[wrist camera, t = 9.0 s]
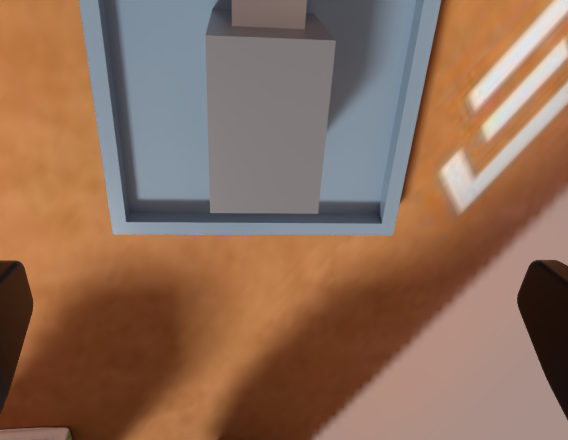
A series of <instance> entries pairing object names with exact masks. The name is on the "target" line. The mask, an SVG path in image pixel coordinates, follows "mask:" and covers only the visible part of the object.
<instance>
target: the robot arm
mask: <svg viewBox="0 0 568 440" xmlns="http://www.w3.org/2000/svg"><path fill="white" fill-rule="evenodd" d="M517 303H518V307H519V310H520V313H521V315H522V318H523V321H524V323H525V326H526V328H527V331H528V333H529V336H530V338H531V341H532V343H533V346H534V349H535V351H536V354H537V356H538V359H539V361H540V363H541V366H542V369H543V371H544V373H545V376H546V378H547V380H548V382H549V385H550V387H551V389H552V391H553V393H554V394H555V397H556V398H557V400H558V402H559V404H560V406H561V408H562V410H563V412H564V414H565V415H566V418H567V420H568V266H567V265H565V264H563V263H561V262H559V261H556V260H536V261H533V262H532V263H531V264H530V265H529V267H528V270H527V272H526V275H525V277H524V280H523V282H522V285H521V288H520V290H519V293H518V297H517ZM32 311H33V298H32V294H31V290H30V286H29V283H28V279H27V275H26V272H25V268H24V266H23V264H22V263H21V262H19V261H0V413H1V411H2V409H3V406H4V404H5V401H6V398H7V396H8V393H9V390H10V387H11V384H12V381H13V378H14V374H15V371H16V367H17V364H18V360H19V357H20V353H21V350H22V346H23V343H24V339H25V336H26V332H27V329H28V325H29V322H30V319H31V315H32Z"/></svg>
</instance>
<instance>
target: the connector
mask: <svg viewBox="0 0 568 440" xmlns="http://www.w3.org/2000/svg"><path fill="white" fill-rule="evenodd" d="M306 6H307V0H232V10H212V12H211V16H210V20H209V23H208V27H207V31H206V35H205V40H206V77H207V114H208V152H209V189H210V213H290V214H318V209H319V199H320V190H321V180H322V170H323V161H324V151H325V142H326V132H327V123H328V113H329V104H330V94H331V84H332V75H333V65H334V56H335V46H336V40H335V39H334V37H333V36H332V35H331V34H330V32H329V31H328V30H327V29H326V28H325V26H324V25H323V24H322V23H321V21H320V20H319V19H318V18H317V16H316V15H315V14H306Z"/></svg>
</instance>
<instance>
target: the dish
mask: <svg viewBox="0 0 568 440" xmlns="http://www.w3.org/2000/svg"><path fill="white" fill-rule="evenodd" d="M79 4H80V11H81V18H82V24H83V31H84V38H85V45H86V52H87V59H88V66H89V73H90V80H91V87H92V94H93V100H94V107H95V114H96V121H97V128H98V135H99V142H100V149H101V156H102V163H103V170H104V176H105V183H106V190H107V197H108V204H109V211H110V218H111V225H112V232H113V234H173V235H393V233H394V228H395V223H396V218H397V213H398V208H399V204H400V199H401V194H402V189H403V184H404V179H405V174H406V170H407V165H408V160H409V155H410V150H411V145H412V140H413V135H414V131H415V126H416V121H417V116H418V111H419V106H420V101H421V97H422V92H423V87H424V82H425V77H426V72H427V67H428V62H429V58H430V53H431V48H432V43H433V38H434V33H435V28H436V23H437V19H438V14H439V9H440V4H441V0H307V6H306V14H315V15H316V16H317V18H318V19H319V20H320V21H321V23H322V24H323V25H324V26H325V28H326V29H327V30H328V31H329V32H330V34H331V35H332V36H333V37H334V39H335V40H336V46H335V56H334V65H333V75H332V84H331V94H330V104H329V113H328V123H327V132H326V142H325V151H324V161H323V170H322V180H321V190H320V199H319V209H318V214H290V213H210V189H209V152H208V114H207V77H206V40H205V35H206V31H207V27H208V23H209V20H210V16H211V12H212V10H232V0H79Z"/></svg>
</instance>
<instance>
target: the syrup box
mask: <svg viewBox="0 0 568 440" xmlns="http://www.w3.org/2000/svg"><path fill="white" fill-rule="evenodd" d="M0 440H72V436H71V433H70V431H69V429H68V428H20V429H5V430H0Z"/></svg>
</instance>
